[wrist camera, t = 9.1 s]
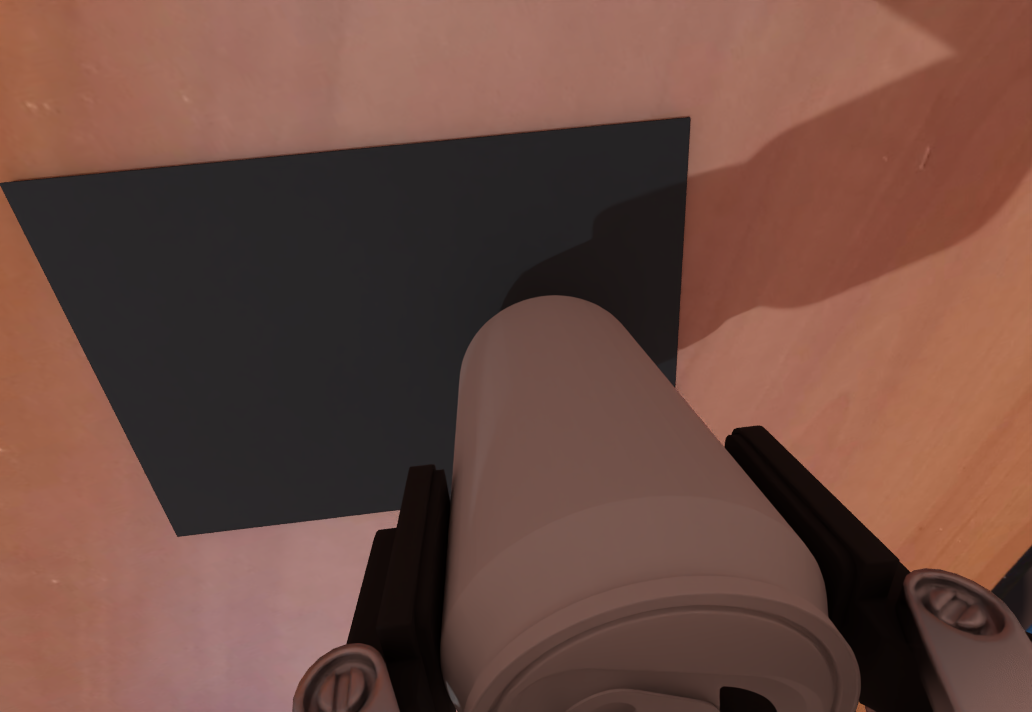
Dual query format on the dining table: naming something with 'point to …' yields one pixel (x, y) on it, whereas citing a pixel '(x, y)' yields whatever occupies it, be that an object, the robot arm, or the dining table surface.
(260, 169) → the mat
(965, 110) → the dining table surface
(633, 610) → the beverage can
